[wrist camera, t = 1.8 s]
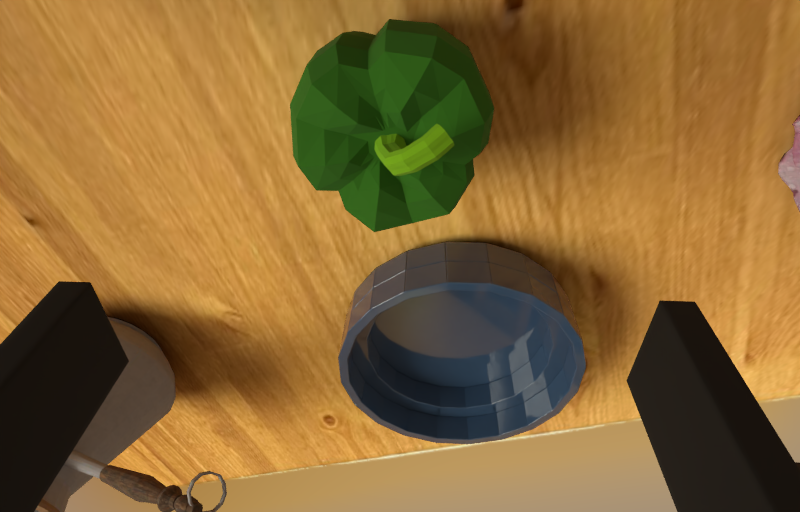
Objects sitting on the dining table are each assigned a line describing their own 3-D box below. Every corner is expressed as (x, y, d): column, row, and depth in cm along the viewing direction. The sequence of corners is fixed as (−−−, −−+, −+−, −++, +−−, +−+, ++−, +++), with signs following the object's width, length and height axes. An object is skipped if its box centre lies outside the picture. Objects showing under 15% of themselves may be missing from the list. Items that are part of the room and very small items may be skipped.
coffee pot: (113, 407, 44) (-5, 605, 32) (4, 320, 38) (-192, 525, 26) (323, 348, 38) (274, 564, 26) (234, 233, 32) (117, 447, 20)
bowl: (354, 389, 41) (347, 439, 37) (340, 232, 31) (328, 278, 28) (547, 397, 40) (559, 448, 37) (592, 239, 31) (613, 287, 27)
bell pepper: (348, 174, 29) (317, 288, 21) (294, 25, 24) (226, 99, 16) (494, 141, 27) (520, 251, 19) (466, -25, 22) (486, 30, 14)
